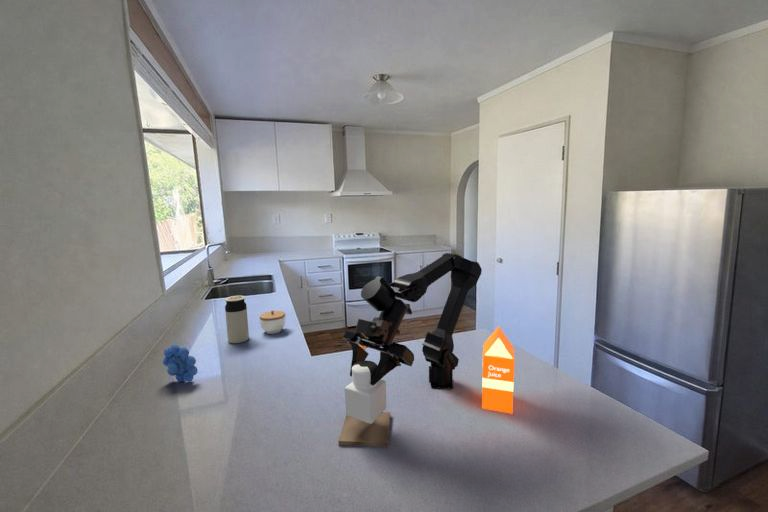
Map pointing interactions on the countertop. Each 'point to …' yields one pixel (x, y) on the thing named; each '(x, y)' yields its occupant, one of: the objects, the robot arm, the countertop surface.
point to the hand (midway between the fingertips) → (361, 380)
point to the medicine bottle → (365, 393)
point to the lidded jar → (272, 321)
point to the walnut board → (366, 431)
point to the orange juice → (498, 373)
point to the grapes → (180, 363)
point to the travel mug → (236, 319)
